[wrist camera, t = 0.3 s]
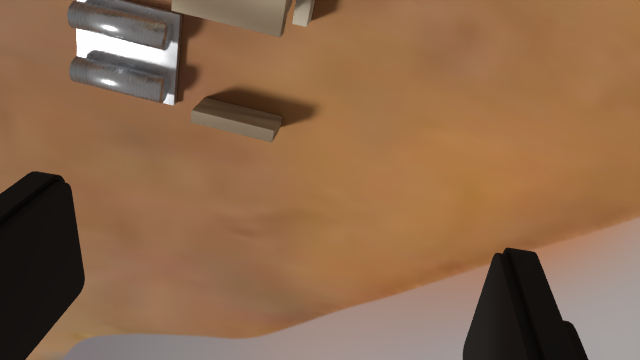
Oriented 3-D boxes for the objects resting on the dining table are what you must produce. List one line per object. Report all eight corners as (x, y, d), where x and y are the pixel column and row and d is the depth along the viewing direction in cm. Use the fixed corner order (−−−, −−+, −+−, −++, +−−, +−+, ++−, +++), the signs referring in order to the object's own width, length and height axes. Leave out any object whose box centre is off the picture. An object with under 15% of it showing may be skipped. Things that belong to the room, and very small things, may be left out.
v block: (82, 79, 42) (63, 89, 40) (80, -12, 39) (60, -7, 36) (176, 102, 42) (163, 114, 40) (182, 13, 38) (169, 20, 36)
